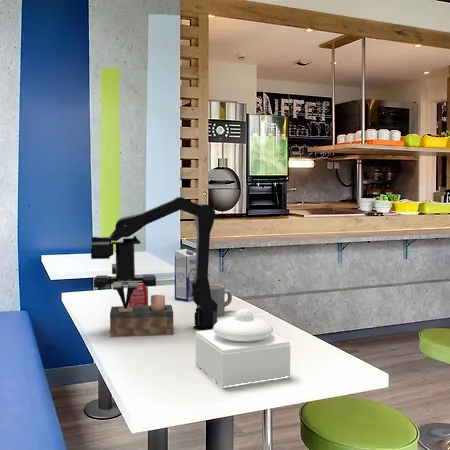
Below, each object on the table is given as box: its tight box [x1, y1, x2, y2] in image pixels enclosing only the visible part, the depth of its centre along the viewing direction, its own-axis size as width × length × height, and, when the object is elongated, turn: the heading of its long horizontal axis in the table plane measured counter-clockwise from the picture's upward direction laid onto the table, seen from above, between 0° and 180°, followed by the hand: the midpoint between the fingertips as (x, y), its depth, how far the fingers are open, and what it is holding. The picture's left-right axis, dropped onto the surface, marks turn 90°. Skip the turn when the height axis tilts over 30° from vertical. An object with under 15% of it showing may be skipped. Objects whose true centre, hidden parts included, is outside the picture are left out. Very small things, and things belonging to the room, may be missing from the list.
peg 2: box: [150, 294, 166, 311], centre depth 170 cm, size 4×4×6 cm
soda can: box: [128, 283, 149, 306], centre depth 188 cm, size 7×7×12 cm
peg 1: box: [118, 307, 133, 312], centre depth 169 cm, size 4×4×6 cm
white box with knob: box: [195, 308, 291, 387], centre depth 134 cm, size 18×18×16 cm
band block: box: [109, 304, 174, 338], centre depth 170 cm, size 19×10×7 cm, turn 99°
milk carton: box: [174, 248, 196, 303], centre depth 216 cm, size 7×7×20 cm
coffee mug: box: [196, 283, 233, 318], centre depth 193 cm, size 13×10×10 cm
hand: (125, 308), depth 169 cm, fingers closed, pressing on peg 1
